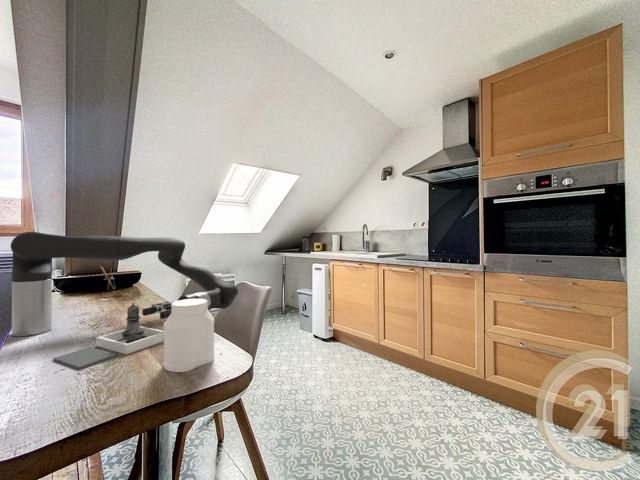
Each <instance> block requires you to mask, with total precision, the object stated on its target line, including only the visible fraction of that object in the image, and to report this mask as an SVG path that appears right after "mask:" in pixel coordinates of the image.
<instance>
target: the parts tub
mask: <svg viewBox="0 0 640 480" xmlns="http://www.w3.org/2000/svg"><path fill="white" fill-rule="evenodd" d="M140 327H141V328H144V329H145V330H144V333H143V335H142V336H141V337H145V338H139V339H140V340H137V341H134V342H131V343H128V344H127V343H124V342H123V341H121V340H123V339H124V338H123V336H122V334H121V332H122V331H124V330H126V328H125V329H122V330H118V331H115V332H111V333H107V334H104V335H100V336H96V342H95V343H96V344H95V345H96V347H98V348H101V349H106V350H108V351H113V352H117V353H121V354H123V355H129V354H131V353H135V352H138V351H140V350H143V349H145V348H149V347H151V346H155V345H157V344H160V343H164V330H161V329H156V328H151V327H147V326H143V325H140ZM124 340H125V339H124Z"/></svg>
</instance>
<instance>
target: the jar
mask: <svg viewBox="0 0 640 480" xmlns="http://www.w3.org/2000/svg"><path fill="white" fill-rule="evenodd" d="M172 302H173V303H172V304H171V307H172V308H171V309H172V310H171V314H170V316H169V317H168V318H166V321H164V323H163V331H164V341H163V365H162V366H163V369H165V370H166V371H168V372H171V373H185V372H190V371H192V370H194V369H196V368H198V367H200V366H203V364H204V365H207V363H208V364H211V363H213V362H214V359H215V318H214V316H213V315H212V314H211V312H210V311H209V310H208V308H207V307H208V306H207V300H205V299H185V300H179V301H178V300H176V301H172Z"/></svg>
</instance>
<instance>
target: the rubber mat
mask: <svg viewBox="0 0 640 480" xmlns="http://www.w3.org/2000/svg"><path fill="white" fill-rule="evenodd" d="M116 357H117V354H116V353H114V352H113V353H112V352H109V351H105V350H102V349H98V348H95V347H92V346H89V347H85V348H82V349H79V350H76V351H73V352H68V353H65V354H62V355H58V356H56V357H53V361H54V362H57V363H59V364H62V365H66V366H68V367H71V368H74V369H76V370H82V369H84V368H88V367H90V366H94V365H96V364H99V363H102V362H105V361H108V360H111V359H113V358H116Z"/></svg>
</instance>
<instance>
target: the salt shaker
mask: <svg viewBox="0 0 640 480" xmlns="http://www.w3.org/2000/svg"><path fill="white" fill-rule="evenodd" d="M126 310H127V314H126V315H127V316H126V318H125V320H126V328H125V329H126V330H125V329H123V330H124V331H122V332H121V334H122V336H123V338H124V340H125V341H124V342H123V343H127V344H128V343H131V342H134V341H137V340H140V339H142V338H141V337H143V336H142V335H143V333H144V330H145V329H144V328H141V327H140V326H141V325H140V319H141V316H140V307H139V306H138V305H136V304H135V302H132V303H131V305H130V306H128V307H127V309H126Z"/></svg>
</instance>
